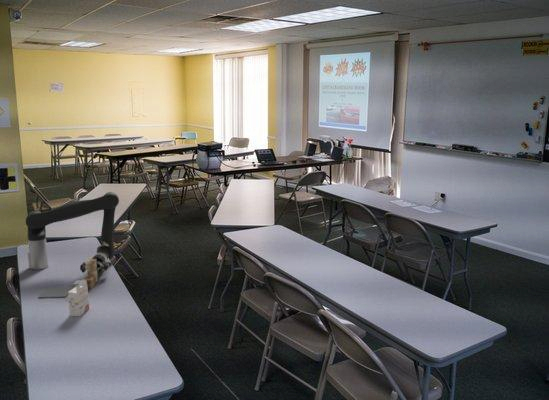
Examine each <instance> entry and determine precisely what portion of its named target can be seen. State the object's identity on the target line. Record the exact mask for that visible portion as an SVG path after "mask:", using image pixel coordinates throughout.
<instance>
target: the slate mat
mask: <svg viewBox="0 0 549 400" xmlns="http://www.w3.org/2000/svg"><path fill="white" fill-rule="evenodd" d="M72 289H73V285H72V286H71V285H68V286H47V287H46V288H45V289H44V290H43V292H41V294H40V295H38V299H51V298H52V299H55V298H56V299H57V298H58V299H59V298H61V299H62V298H67V297H68V292H69V291H70V290H72Z"/></svg>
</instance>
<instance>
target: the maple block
mask: <svg viewBox="0 0 549 400" xmlns="http://www.w3.org/2000/svg"><path fill="white" fill-rule="evenodd" d="M86 264H87V267H86V268H87V270H86V271H87V272H86V273H87V277H94V283H97V281H99V280H98V279H99V278H98V277H99V276H98V270H97V261H96V259H92V258H88V259H87V260H86Z"/></svg>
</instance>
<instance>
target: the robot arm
mask: <svg viewBox="0 0 549 400" xmlns="http://www.w3.org/2000/svg"><path fill="white" fill-rule="evenodd" d="M119 202H120V199H119V196H118V195H117V194H116V193H115V192H113V191H109V192H106V193H105V194H103V195H102V196H98V197H96V198H93V199H82V200H75V201H71V202H68V203H64V204H62V205H60V206H57V207H55V208H53V209H50V210H47V211H44V212H41V211H40V210H32V211H30V212H28V214H27V216H26V219H25V225H26V228H27V243H28V252H27V258H28V260H27V261H28V268H29V270H35V271H39V270H44V269H46V268H48V267H49V260H48V258H49V257H48V248H47V247H48V246H47V235H46V231H47V230H46V226H48V225H51V224H54V223H58V222H63V221H67V220H72V219H76V218H80V217H83V216H86V215H90V214H92V213H96V212H99V211H103V218H102V226H101V234H100V241H101V242H103V243H106V244H107V245H103V244H102V245H98V247H97V248H96V253H95V254H94V255H93V257H92V258H91V259H96V261H97V271H98V273H102V272H103V271H104V270H105V271H107V270H108V269H109V266H110V264H109V261H108V259H112V258H114V257H115V254H116V249H115V244H114V233H115V213H116V208H117V206H118V205H119ZM79 269H80V271H81V272H82V274H84V273H85V272H86V271H87V262H86V261H85V262H81V264H80V266H79Z"/></svg>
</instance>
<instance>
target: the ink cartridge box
mask: <svg viewBox="0 0 549 400" xmlns="http://www.w3.org/2000/svg"><path fill="white" fill-rule="evenodd" d="M81 285H83V286H81ZM67 297H68V298H67V299H68V309H69V316H71V317H81V316H82V315H83V314H84V313H86V312H87V311H88V310H89V309H90V303H89V302H90V301H89V299H90V298H89V289H88V286H87V281H84V282H82V283H81V284H79V285H78V286H76V287H75V288H73V289H72V290H70V291H69V292H68V295H67Z"/></svg>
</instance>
